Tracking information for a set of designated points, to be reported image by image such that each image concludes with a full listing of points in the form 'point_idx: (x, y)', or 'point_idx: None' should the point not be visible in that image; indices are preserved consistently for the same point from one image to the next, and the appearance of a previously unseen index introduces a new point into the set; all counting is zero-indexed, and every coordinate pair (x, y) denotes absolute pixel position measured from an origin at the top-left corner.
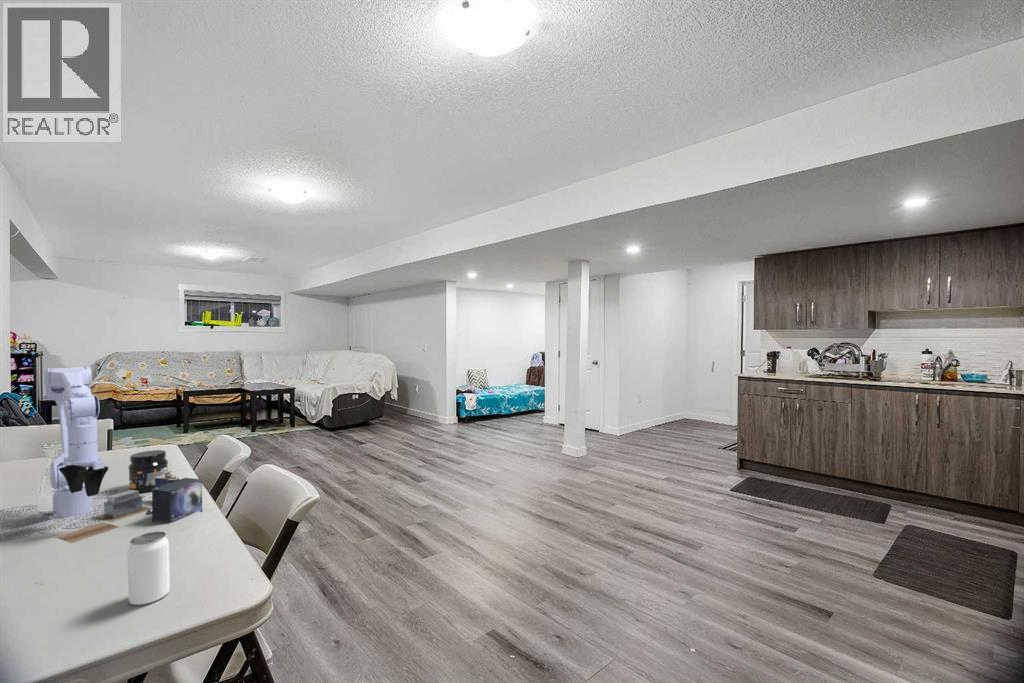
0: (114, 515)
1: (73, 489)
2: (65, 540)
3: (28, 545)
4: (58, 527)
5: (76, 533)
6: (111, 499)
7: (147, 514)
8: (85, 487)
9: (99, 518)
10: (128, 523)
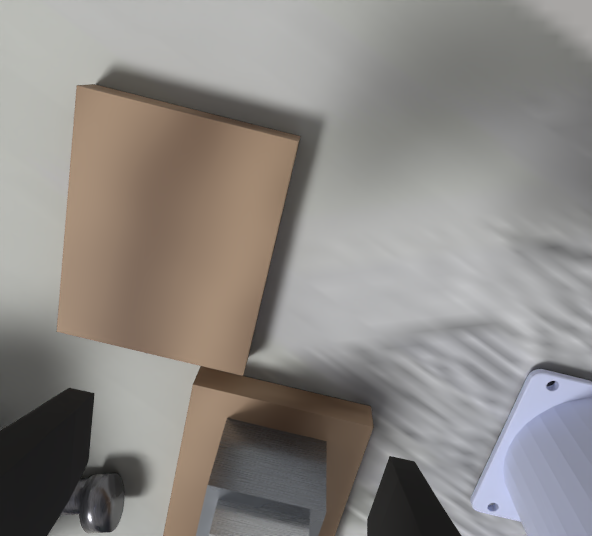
0: (222, 435)
1: (388, 491)
2: (165, 109)
3: (447, 79)
4: (538, 328)
5: (219, 213)
6: (249, 529)
7: (94, 486)
8: (21, 445)
9: (326, 415)
10: (165, 418)
